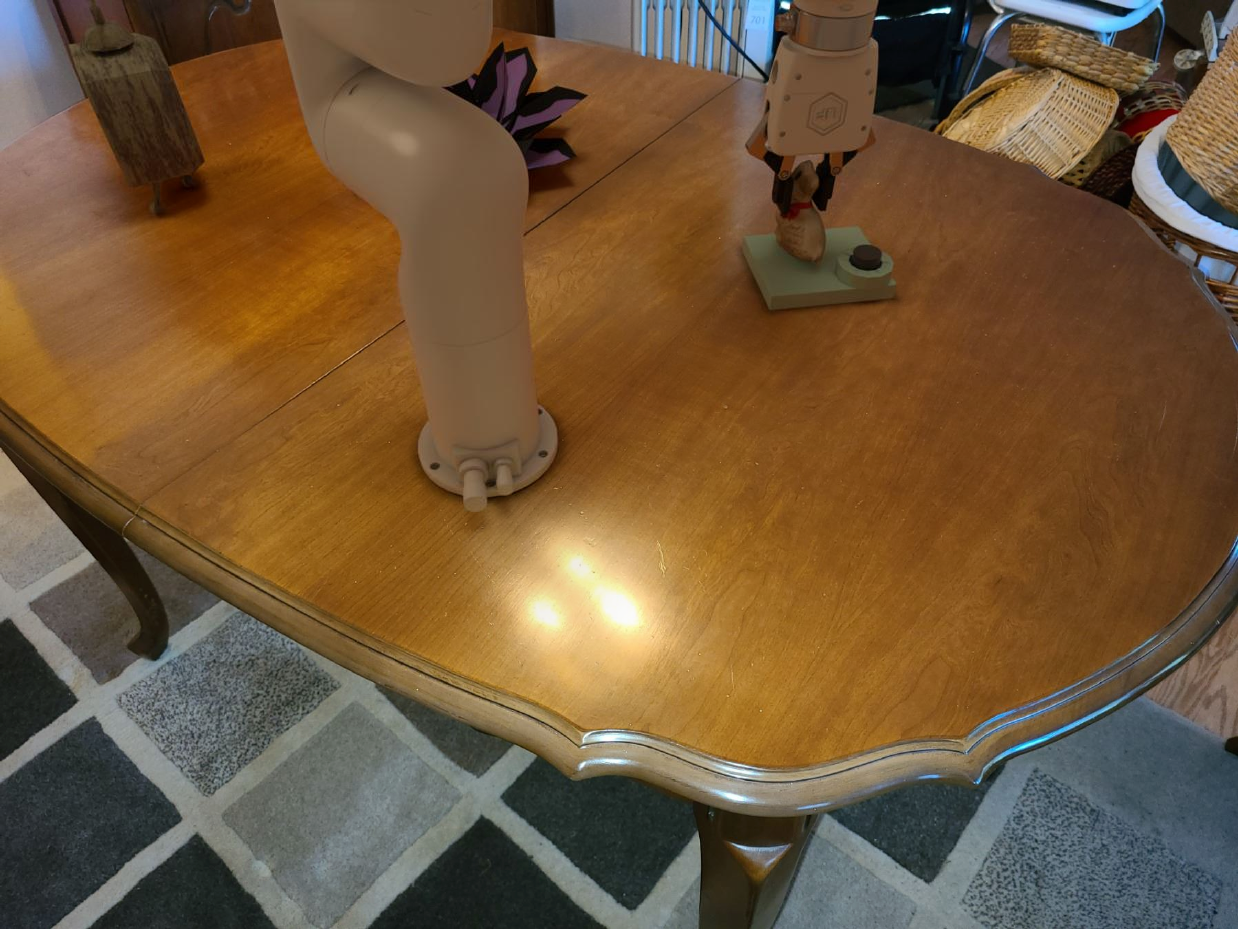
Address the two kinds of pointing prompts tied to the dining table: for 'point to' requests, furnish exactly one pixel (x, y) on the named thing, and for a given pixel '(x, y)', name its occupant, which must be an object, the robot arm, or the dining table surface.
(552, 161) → the decorative flower
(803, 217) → the chocolate bunny
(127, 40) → the tabletop clock
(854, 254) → the button
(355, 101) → the robot arm
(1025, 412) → the dining table surface
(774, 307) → the scale
